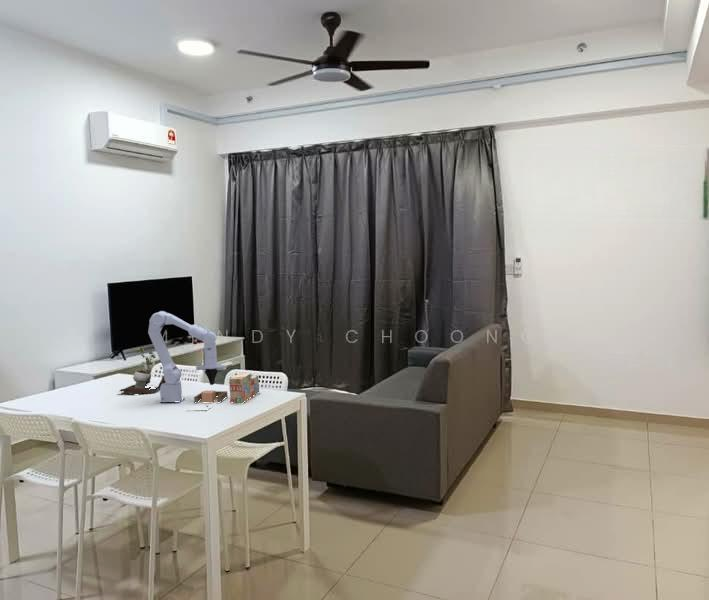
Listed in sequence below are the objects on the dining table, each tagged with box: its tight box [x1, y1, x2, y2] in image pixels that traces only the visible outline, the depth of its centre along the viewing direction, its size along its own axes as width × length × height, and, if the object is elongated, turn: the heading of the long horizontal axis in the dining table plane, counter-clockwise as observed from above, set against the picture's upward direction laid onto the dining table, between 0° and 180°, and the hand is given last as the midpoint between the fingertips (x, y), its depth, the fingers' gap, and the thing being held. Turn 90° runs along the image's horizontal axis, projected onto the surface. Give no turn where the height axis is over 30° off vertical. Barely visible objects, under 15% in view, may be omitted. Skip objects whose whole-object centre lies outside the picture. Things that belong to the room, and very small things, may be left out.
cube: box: [201, 390, 217, 403], centre depth 266 cm, size 5×5×5 cm
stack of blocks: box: [228, 372, 260, 404], centre depth 271 cm, size 21×6×12 cm, turn 168°
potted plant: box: [119, 347, 165, 396], centre depth 296 cm, size 20×19×25 cm
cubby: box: [193, 390, 228, 403], centre depth 270 cm, size 12×11×3 cm
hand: (212, 384), depth 271 cm, fingers closed
